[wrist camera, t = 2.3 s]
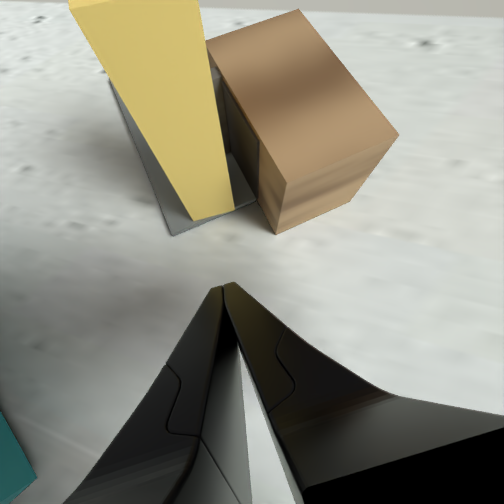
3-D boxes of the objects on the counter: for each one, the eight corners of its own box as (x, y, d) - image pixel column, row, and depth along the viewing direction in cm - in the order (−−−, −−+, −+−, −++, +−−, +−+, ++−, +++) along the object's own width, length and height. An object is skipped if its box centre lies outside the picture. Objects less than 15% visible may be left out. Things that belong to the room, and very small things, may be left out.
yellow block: (234, 210, 17) (195, -17, 6) (193, 221, 17) (69, 9, 6) (221, 163, 19) (165, -102, 7) (181, 173, 18) (59, -82, 7)
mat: (255, 201, 18) (255, 198, 18) (173, 236, 17) (171, 234, 17) (179, 58, 22) (178, 53, 22) (111, 81, 22) (108, 77, 21)
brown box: (349, 201, 18) (399, 134, 12) (268, 238, 17) (274, 188, 11) (285, 104, 21) (298, 8, 14) (212, 133, 20) (193, 44, 14)
